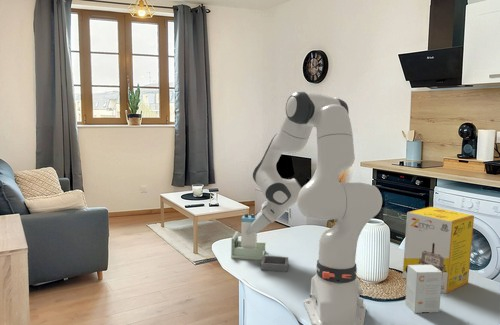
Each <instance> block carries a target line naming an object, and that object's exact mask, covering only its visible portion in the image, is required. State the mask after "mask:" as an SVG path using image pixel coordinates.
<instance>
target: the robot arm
mask: <svg viewBox="0 0 500 325" xmlns="http://www.w3.org/2000/svg"><path fill="white" fill-rule="evenodd" d="M349 113H350V112H349V106H348V104H347V102H345V101H344V100H343V99H340V98H339V97H331V96H328V95H324V94H321V93H314V92H305V91H297V92H293V93H291V94H290V96H289V97H288V98H287V101H286V103H285V116H284V119H283V121H282V123H281V124H280V125H281V126H280V128H279V130H278V132H277V133H276V134H274V135H273V137H272V139H271V141H270V142H269V145H268V146H267V148H266V150H265V152H264V155H263V157H262V159H261V160H260V162H259V163H258V164H257V166H256V167H255V168H254V170H253V172H252V179H253V181H254V182H255V183H256V184H257V187H259V189H260V191H261V192H262V195H263V196H264V197H265V199H266V200H265V201H264V202H263V203H262V204H261V208H260V211H259V212H258V213H256V214H255V216H257V218H256V220H254V221H253V223H252V225H251V226H250V228H249V229H248V230H247V231H246V232H245V233H246V234H247V235H249V234H250V233H252V232H253V231H254V232H255V233H257V234H258V233H259V232H261V231H262V230H264V229H265V228H266V227H267V226H268V225H270V224H272V223H274V222H276V221H277V220H279V218H281V217H282V216H283V215H284V214H285V213H286V211H287V210H288V209H289V208H291V207H293V206H294V205H295V204H296V203H297V207H298V209H299V211H300V213H301V214H302V215H303V216H304V217H306V218H310V219H311V218H312V219H316V220H336V222H335V224H334V225H333V226H332V227H331V228H329V229H327V230H325V231H324V232H323V233H322V234H321V236H320V238H319V244H318V246H319V247H318V260H316V274H315V275H313V277H311V283H310V295H309V297H310V298H306V299H304V301H303V305H304V307H305V310H306V313H307V315H308V317H309V320H310V322H311V325H365V321H366V320H365V319H366V312H367V311H366V310H367V308H366V307H367V306H366V305H365V304H364V299H363V298H361V297H360V295H362V294H363V290H362V289H361V287H360V286H361V284H360V283H361V282H360V280H359V279H358V278H357V272H358V271H357V270H358V268H357V263H356V258H357V247H358V241H359V238H360V235H361V233H362V231H363V229H364V228H365V226H366V225H367V223H369V221H370V220H371V219H373V218H375V217H376V216H377V215H378V214H379V212H380V211H381V209H382V205H383V197H382V193H381V192H380V190H379V188H378V187H377V186H376V185H373V184H369V183H364V182H339V175H340V174H341V173H343V172H345V171H346V170H348V169H349V168H351V167H353V164H354V162H355V159H356V158H355V148H354V147H355V146H354V135H353V129H352V123H351V119H350V116H349V115H350V114H349ZM313 128H315V129H316V145H317V161H316V162H317V164H316V169H315V172H314V173H313V175H312V177H311V178H310V179H309V181H308V182H307V183H305V184H304V185H303V186H302V185H301V184H300V182H299V181H298V180H297V179H296V178H294V177H293V178H291V179H290V178H288V179H287V178H283V177H282V176H281V175H280V174H279V172H278V170H277V163H278V162H279V160H280V157H281V156H282V155H283V152H284V153H290V154H291V153H293V154H294V153H295V154H296V153H298V152H301V151H302V150H303V149H304V148H305V146H306V145H307V143H308V141H309V139H310V136H311V133H312V130H313Z"/></svg>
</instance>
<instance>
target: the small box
mask: <svg viewBox="0 0 500 325" xmlns="http://www.w3.org/2000/svg"><path fill="white" fill-rule="evenodd" d="M441 281H442V271H440V270H439V269H437V268H436V267H434V266H433V265H408V269H407V279H406V286H405V287H406V288H405V300H404V301H405V303H404V304H405V306H406V307H408V308H409V309H410V310H411V311H412V312H413V313H414V314H420V313H422V312H429V313H440V304H441V296H442V295H441V294H442V292H441Z"/></svg>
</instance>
